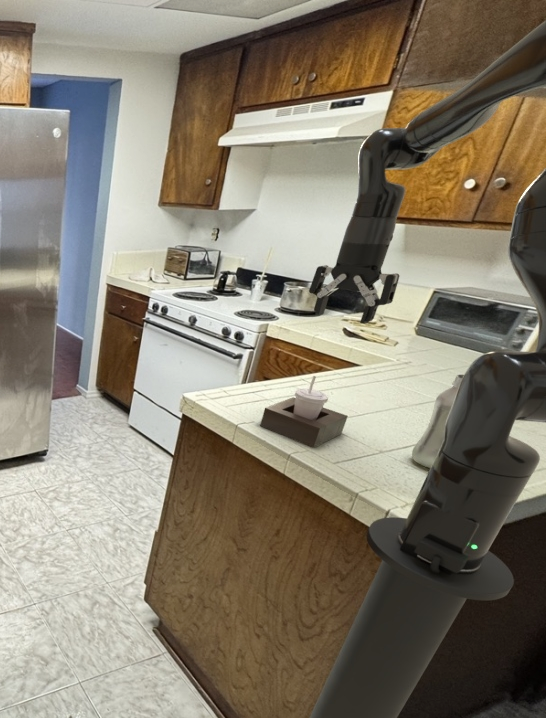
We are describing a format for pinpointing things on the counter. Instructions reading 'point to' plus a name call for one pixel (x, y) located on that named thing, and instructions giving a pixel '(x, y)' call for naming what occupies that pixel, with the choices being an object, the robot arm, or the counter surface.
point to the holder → (303, 423)
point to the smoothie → (309, 402)
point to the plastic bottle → (436, 427)
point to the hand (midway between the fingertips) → (341, 318)
